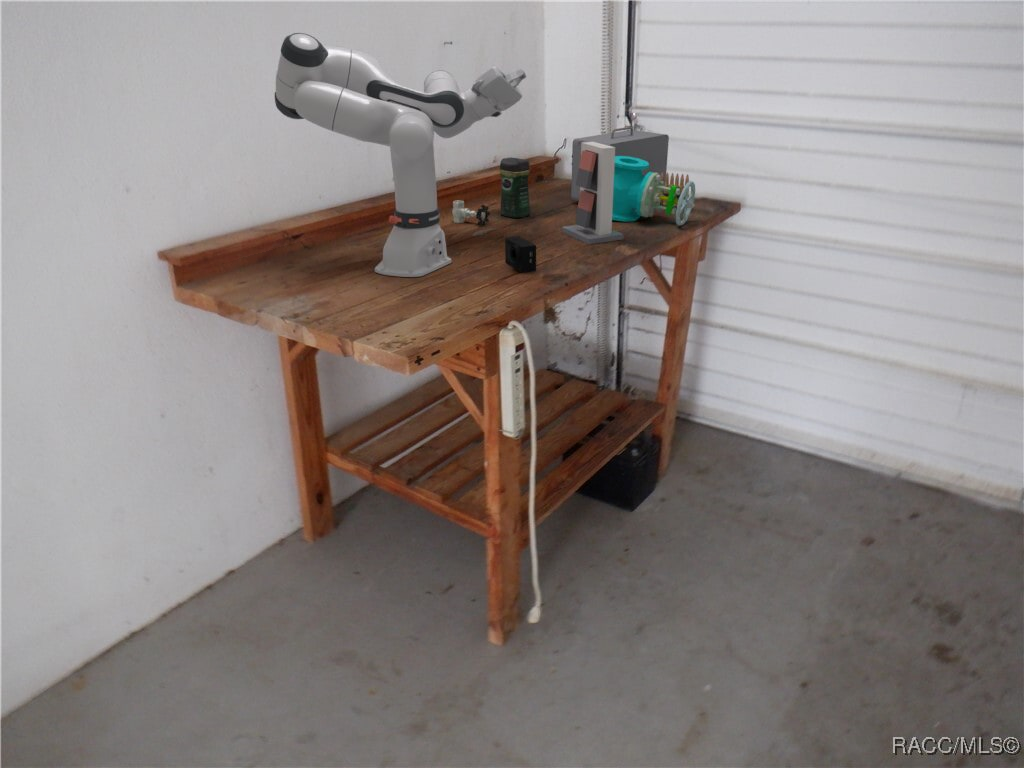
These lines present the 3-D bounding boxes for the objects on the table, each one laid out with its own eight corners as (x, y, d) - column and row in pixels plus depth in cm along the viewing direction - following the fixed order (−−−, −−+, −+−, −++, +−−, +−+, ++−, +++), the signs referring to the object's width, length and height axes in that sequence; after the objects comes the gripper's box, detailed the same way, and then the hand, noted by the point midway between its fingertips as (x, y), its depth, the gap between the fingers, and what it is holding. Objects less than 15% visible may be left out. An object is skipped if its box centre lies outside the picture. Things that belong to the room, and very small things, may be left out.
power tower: (594, 227, 256) (598, 139, 244) (623, 239, 243) (628, 147, 231) (561, 231, 251) (563, 143, 239) (588, 244, 238) (591, 151, 227)
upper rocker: (578, 185, 242) (585, 151, 238) (589, 189, 237) (596, 154, 233) (575, 185, 241) (582, 150, 238) (586, 188, 236) (593, 153, 233)
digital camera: (501, 263, 222) (500, 237, 219) (519, 260, 224) (518, 235, 221) (517, 273, 214) (517, 247, 211) (536, 270, 216) (536, 244, 213)
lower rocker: (578, 223, 247) (584, 190, 243) (588, 228, 242) (594, 194, 238) (574, 223, 246) (580, 190, 242) (585, 228, 241) (591, 194, 238)
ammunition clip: (688, 209, 276) (691, 174, 271) (686, 211, 274) (689, 175, 269) (658, 206, 281) (660, 171, 276) (656, 207, 279) (658, 172, 274)
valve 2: (619, 153, 266) (707, 173, 254) (610, 206, 275) (695, 228, 263) (601, 160, 255) (693, 181, 243) (593, 215, 263) (681, 238, 252)
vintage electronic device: (625, 189, 306) (629, 120, 295) (664, 197, 293) (669, 125, 283) (566, 203, 286) (568, 129, 276) (605, 212, 274) (609, 135, 263)
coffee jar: (533, 215, 270) (534, 158, 262) (516, 219, 265) (516, 161, 257) (513, 210, 276) (513, 154, 269) (496, 214, 272) (495, 157, 264)
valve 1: (448, 223, 262) (478, 228, 256) (447, 202, 259) (478, 207, 254) (459, 218, 267) (490, 223, 262) (459, 198, 264) (490, 203, 259)
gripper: (464, 78, 221) (506, 49, 217) (490, 100, 241) (530, 74, 236) (473, 98, 221) (516, 70, 216) (499, 118, 240) (539, 93, 236)
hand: (524, 72), depth 227 cm, fingers closed
